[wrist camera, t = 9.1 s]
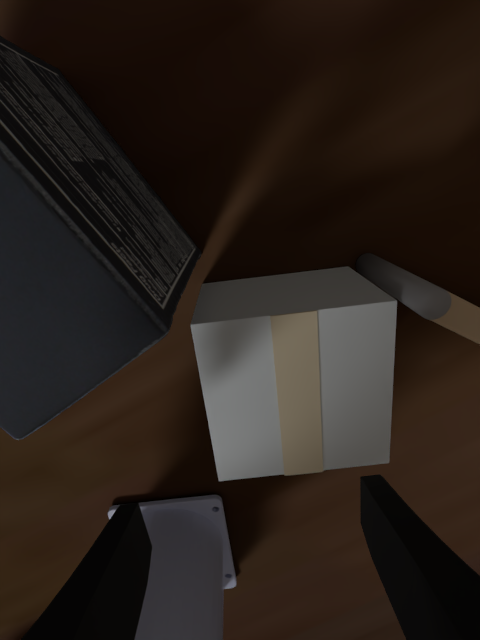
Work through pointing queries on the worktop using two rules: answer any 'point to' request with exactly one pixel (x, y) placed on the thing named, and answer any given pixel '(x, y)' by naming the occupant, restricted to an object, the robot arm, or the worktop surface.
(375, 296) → the carton
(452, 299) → the flap
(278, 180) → the worktop surface
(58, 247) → the small box
